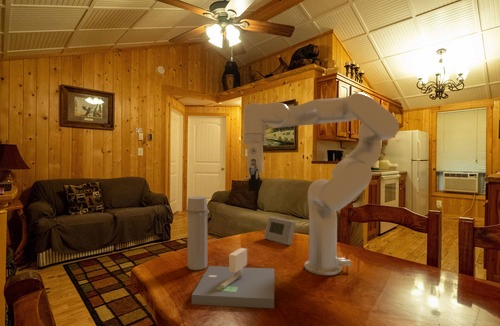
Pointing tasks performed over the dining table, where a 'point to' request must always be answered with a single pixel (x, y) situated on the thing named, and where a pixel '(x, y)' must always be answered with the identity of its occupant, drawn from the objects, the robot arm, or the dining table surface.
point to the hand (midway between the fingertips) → (254, 189)
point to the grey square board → (236, 288)
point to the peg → (236, 265)
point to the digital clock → (280, 230)
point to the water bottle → (197, 232)
